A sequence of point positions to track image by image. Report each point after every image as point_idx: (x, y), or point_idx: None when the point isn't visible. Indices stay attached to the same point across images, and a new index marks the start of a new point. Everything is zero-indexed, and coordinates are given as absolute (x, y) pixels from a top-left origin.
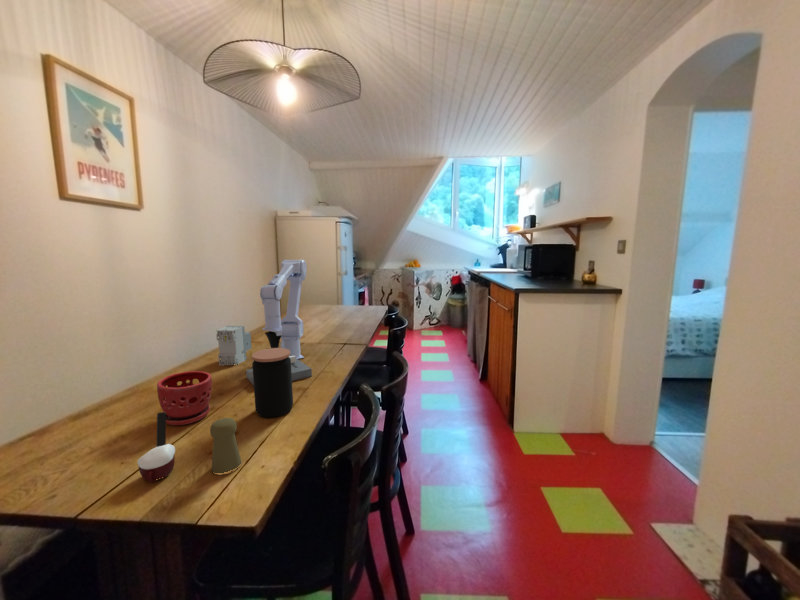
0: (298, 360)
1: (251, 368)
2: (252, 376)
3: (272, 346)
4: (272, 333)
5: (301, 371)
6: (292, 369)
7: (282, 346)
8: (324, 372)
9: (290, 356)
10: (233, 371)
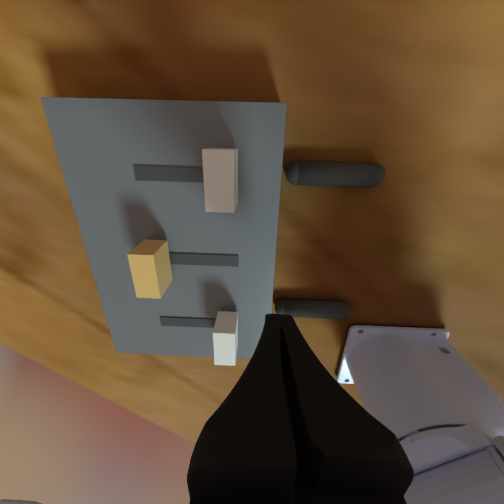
0: (248, 355)
1: (367, 166)
2: (137, 101)
3: (262, 336)
4: (220, 500)
5: (108, 317)
6: (144, 300)
7: (456, 379)
8: (147, 366)
9: (228, 349)
10: (446, 67)
